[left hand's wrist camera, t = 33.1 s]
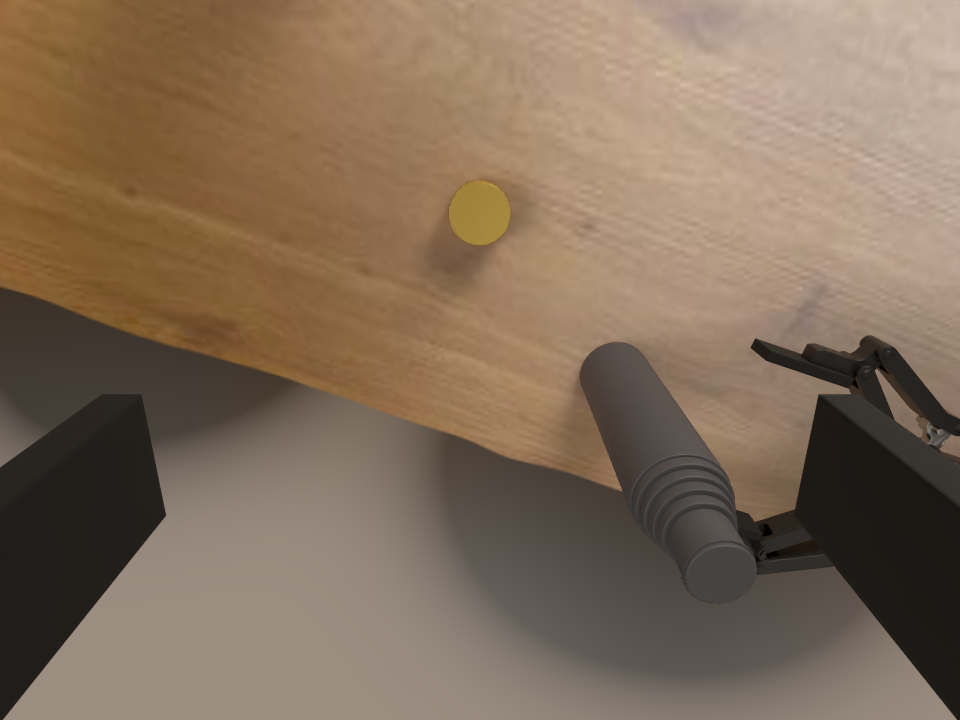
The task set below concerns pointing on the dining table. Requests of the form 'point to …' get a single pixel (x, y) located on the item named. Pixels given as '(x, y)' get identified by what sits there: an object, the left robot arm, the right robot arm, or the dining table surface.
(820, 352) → the right robot arm
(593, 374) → the bottle
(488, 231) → the cap
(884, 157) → the dining table surface
